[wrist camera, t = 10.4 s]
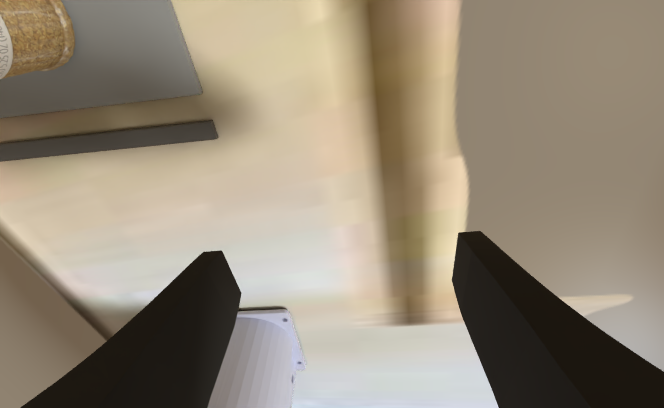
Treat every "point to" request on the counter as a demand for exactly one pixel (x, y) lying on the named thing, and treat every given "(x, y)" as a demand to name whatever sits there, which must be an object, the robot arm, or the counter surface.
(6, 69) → the sprinkles bottle
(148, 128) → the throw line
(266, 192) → the counter surface
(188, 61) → the mat
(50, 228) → the counter surface
